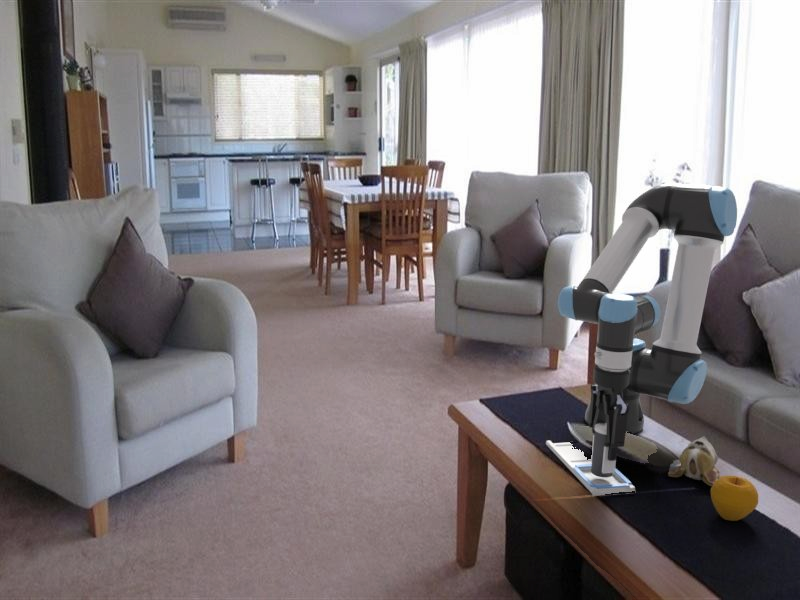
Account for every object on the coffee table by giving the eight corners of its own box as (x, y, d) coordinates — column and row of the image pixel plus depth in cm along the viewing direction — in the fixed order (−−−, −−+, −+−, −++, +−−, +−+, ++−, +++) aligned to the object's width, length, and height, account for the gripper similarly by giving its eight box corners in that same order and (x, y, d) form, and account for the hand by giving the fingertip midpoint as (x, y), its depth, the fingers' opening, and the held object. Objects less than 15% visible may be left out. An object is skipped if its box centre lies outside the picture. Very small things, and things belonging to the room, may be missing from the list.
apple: (742, 535, 144) (749, 492, 142) (698, 516, 150) (704, 476, 148) (762, 520, 149) (768, 479, 147) (719, 503, 156) (724, 463, 154)
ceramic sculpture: (729, 434, 170) (719, 462, 157) (725, 468, 172) (715, 498, 160) (680, 425, 175) (667, 450, 163) (677, 458, 177) (664, 486, 165)
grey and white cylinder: (606, 467, 166) (611, 422, 164) (616, 476, 162) (621, 430, 159) (586, 468, 165) (591, 423, 163) (596, 478, 161) (601, 432, 158)
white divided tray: (582, 443, 184) (583, 437, 184) (635, 492, 159) (636, 485, 159) (545, 445, 182) (545, 439, 182) (592, 496, 157) (593, 489, 157)
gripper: (578, 354, 166) (570, 451, 171) (615, 380, 149) (605, 486, 154) (609, 353, 167) (600, 449, 172) (649, 379, 150) (638, 484, 156)
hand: (602, 466), depth 163 cm, fingers closed on grey and white cylinder, 5 cm apart
